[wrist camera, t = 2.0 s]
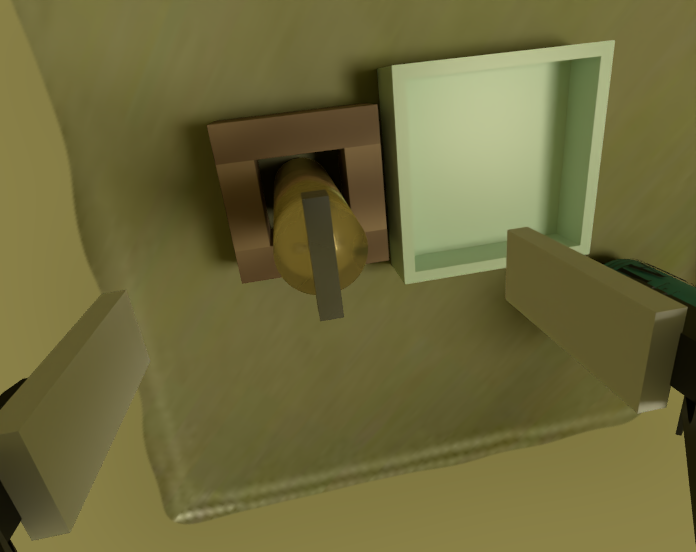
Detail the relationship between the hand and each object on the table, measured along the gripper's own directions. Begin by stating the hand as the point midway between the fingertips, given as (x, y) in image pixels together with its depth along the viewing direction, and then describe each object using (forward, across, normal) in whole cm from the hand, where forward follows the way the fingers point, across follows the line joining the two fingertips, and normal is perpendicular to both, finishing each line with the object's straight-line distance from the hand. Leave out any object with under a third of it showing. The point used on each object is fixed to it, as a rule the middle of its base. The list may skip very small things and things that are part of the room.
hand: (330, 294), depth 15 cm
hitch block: (+18, 0, 0) cm, 18 cm away
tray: (+18, +13, 0) cm, 22 cm away
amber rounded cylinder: (+18, 0, 0) cm, 18 cm away
